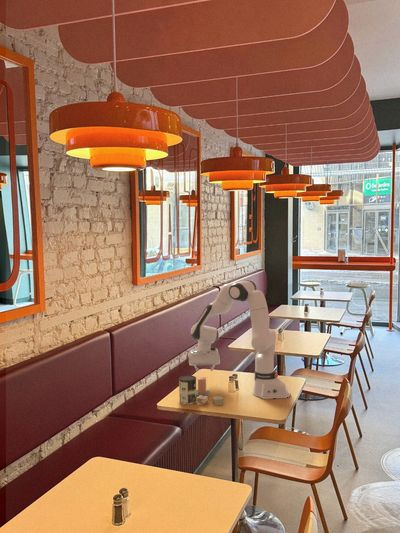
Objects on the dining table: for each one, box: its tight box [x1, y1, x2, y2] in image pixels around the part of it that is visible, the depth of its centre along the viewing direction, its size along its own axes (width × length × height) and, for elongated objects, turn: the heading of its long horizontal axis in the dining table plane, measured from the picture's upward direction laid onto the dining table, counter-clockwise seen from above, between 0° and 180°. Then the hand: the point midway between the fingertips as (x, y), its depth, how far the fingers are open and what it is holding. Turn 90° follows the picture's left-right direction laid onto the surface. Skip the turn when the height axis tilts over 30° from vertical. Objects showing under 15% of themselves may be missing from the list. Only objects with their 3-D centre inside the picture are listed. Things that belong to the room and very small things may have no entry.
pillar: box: [197, 376, 207, 394], centre depth 302 cm, size 4×4×9 cm
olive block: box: [212, 395, 224, 406], centre depth 286 cm, size 5×5×4 cm
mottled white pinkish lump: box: [196, 395, 209, 406], centre depth 286 cm, size 5×5×4 cm
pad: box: [196, 389, 211, 398], centre depth 302 cm, size 9×9×1 cm
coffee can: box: [178, 374, 197, 405], centre depth 290 cm, size 10×10×14 cm
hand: (204, 370), depth 313 cm, fingers open, 8 cm apart
